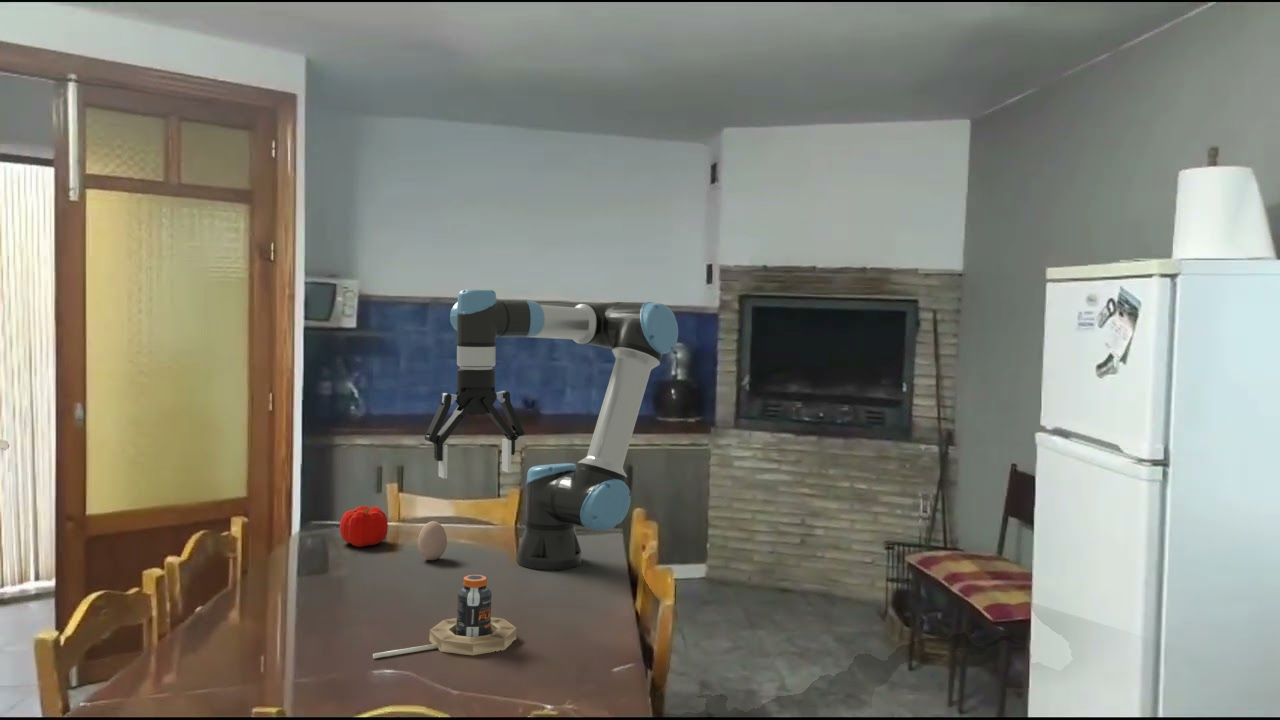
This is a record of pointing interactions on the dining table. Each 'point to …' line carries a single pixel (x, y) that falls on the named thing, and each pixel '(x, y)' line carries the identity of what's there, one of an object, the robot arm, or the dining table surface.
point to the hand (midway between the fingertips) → (475, 474)
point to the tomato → (364, 526)
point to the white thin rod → (405, 651)
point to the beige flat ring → (473, 638)
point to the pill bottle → (474, 607)
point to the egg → (432, 541)
